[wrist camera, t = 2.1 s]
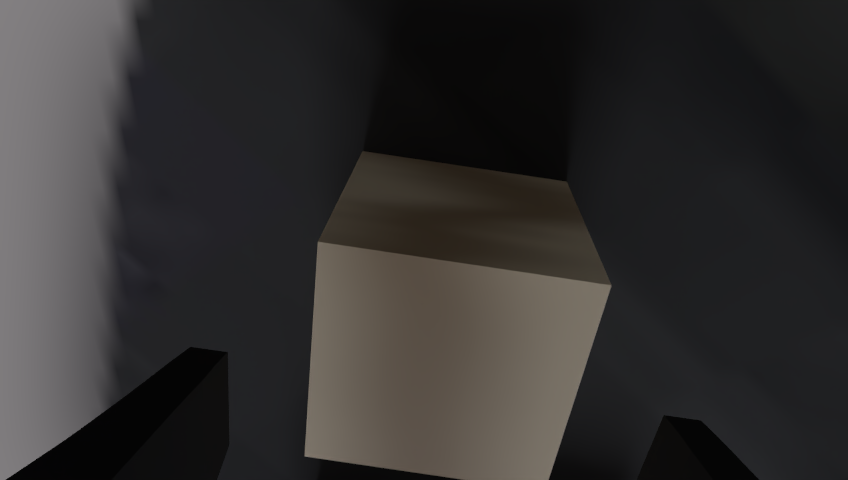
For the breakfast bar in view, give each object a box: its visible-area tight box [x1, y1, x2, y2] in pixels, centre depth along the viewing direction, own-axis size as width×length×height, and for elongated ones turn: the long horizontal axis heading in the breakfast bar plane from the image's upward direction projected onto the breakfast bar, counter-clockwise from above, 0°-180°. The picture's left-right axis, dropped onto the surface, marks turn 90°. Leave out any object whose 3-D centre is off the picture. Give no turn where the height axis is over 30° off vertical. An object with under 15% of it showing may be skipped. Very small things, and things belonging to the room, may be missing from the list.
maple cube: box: [305, 151, 611, 480], centre depth 13 cm, size 5×5×5 cm
